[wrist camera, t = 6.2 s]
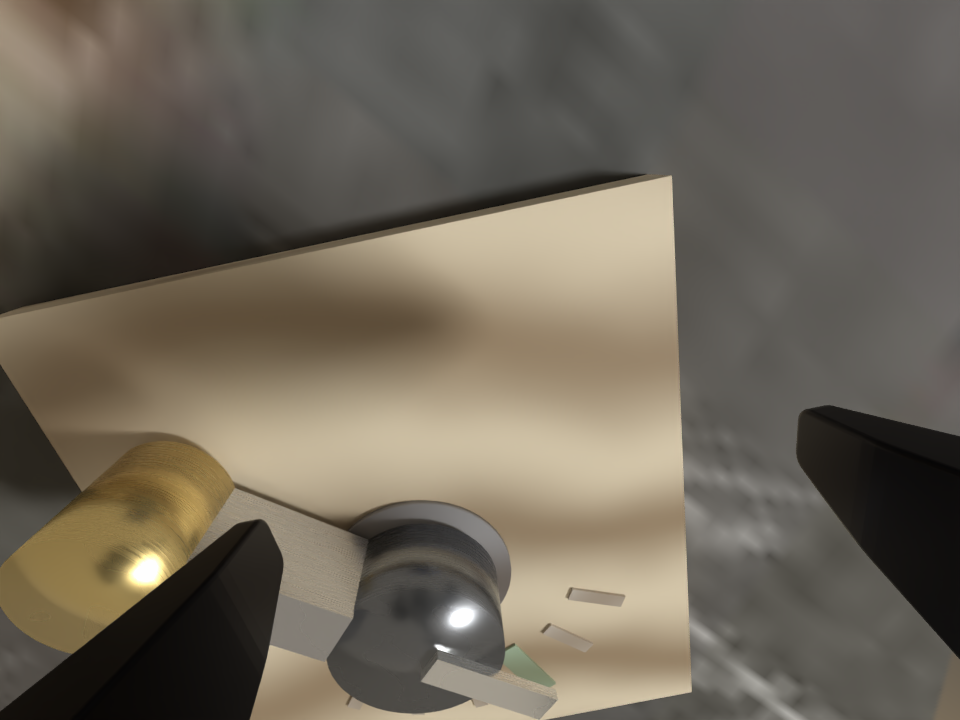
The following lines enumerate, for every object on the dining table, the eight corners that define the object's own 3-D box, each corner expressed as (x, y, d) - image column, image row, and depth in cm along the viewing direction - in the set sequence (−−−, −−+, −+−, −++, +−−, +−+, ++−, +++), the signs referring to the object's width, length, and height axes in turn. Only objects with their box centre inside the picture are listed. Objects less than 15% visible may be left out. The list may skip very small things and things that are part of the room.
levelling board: (675, 657, 21) (694, 697, 19) (274, 733, 21) (260, 779, 20) (648, 174, 13) (675, 176, 12) (22, 306, 14) (-35, 326, 12)
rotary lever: (573, 578, 16) (608, 693, 13) (496, 670, 18) (508, 796, 14) (139, 398, 13) (22, 488, 9) (90, 530, 14) (-27, 651, 11)
